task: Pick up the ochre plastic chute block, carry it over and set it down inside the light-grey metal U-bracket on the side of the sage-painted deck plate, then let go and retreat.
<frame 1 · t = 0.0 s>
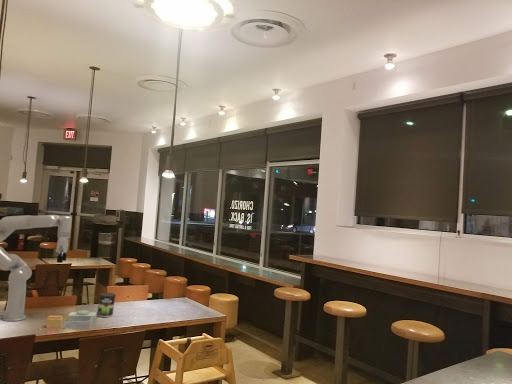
hand: (61, 261, 258), 37 cm above the table, tool pointing down, fingers open, 9 cm apart
chute block: (54, 326, 241), on the table
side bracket: (78, 325, 247), on the table
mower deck: (82, 320, 258), on the table
coffee can: (104, 315, 272), on the table
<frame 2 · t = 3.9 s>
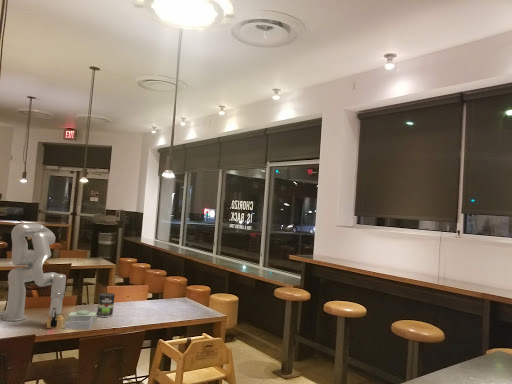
hand: (54, 325, 241), 1 cm above the table, tool pointing down, fingers closed on chute block, 5 cm apart
chute block: (54, 326, 241), on the table, touching gripper
everything else where it was.
when the fingers open (2 cm above the table, at t = 8.8 s): chute block stays where it is, resting on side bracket.
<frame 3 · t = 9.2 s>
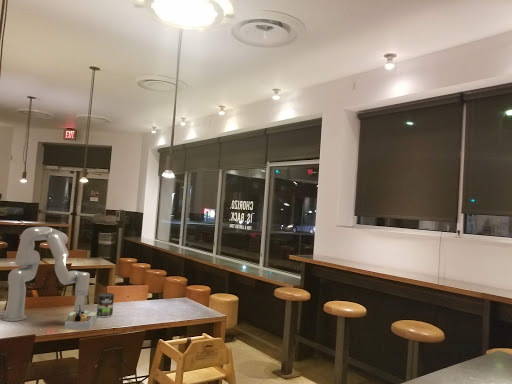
hand: (79, 320, 247), 3 cm above the table, tool pointing down, fingers open, 9 cm apart
chute block: (78, 324, 247), resting on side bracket
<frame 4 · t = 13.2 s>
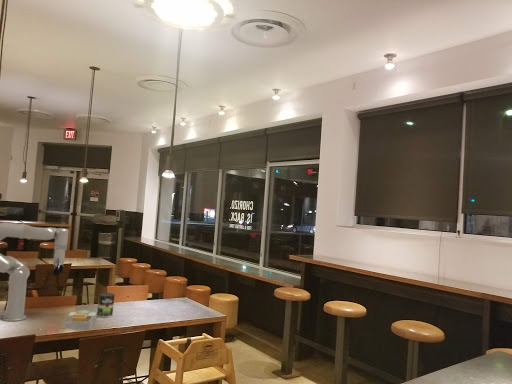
hand: (58, 273, 260), 28 cm above the table, tool pointing down, fingers open, 9 cm apart
nothing on the table moved.
at the end: chute block inside the target area on the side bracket (0.1 cm from its centre), point 0.3 cm above the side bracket's base; chute block tilted 0°; the gripper is holding nothing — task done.
